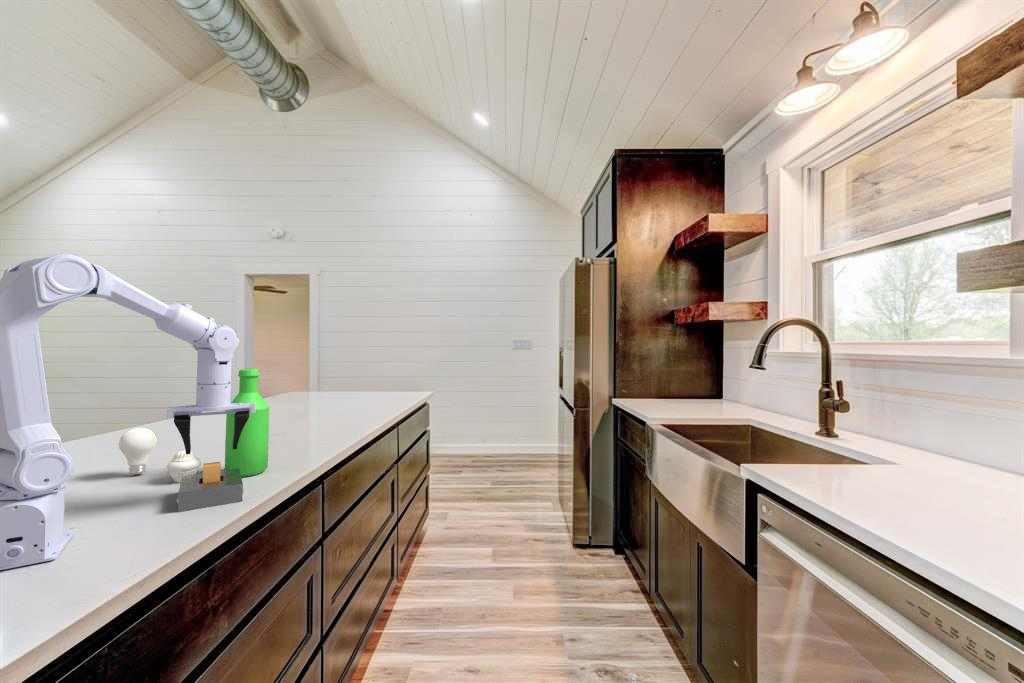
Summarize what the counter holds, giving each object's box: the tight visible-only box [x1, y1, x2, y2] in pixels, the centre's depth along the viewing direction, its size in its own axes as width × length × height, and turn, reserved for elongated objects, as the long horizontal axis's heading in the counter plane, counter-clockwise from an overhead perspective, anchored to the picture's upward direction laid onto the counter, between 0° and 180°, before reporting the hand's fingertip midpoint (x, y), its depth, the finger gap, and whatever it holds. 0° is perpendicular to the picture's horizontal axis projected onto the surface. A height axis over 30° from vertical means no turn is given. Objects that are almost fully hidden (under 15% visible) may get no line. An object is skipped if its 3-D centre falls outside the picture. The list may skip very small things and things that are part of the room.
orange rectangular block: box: [202, 461, 222, 483], centre depth 85 cm, size 3×3×6 cm
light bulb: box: [118, 427, 157, 476], centre depth 98 cm, size 7×7×11 cm
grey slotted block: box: [176, 469, 244, 513], centre depth 87 cm, size 17×11×4 cm, turn 36°
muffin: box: [166, 448, 202, 483], centre depth 95 cm, size 6×6×7 cm
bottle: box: [224, 368, 270, 478], centre depth 102 cm, size 9×9×25 cm
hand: (212, 450), depth 85 cm, fingers open, 7 cm apart
